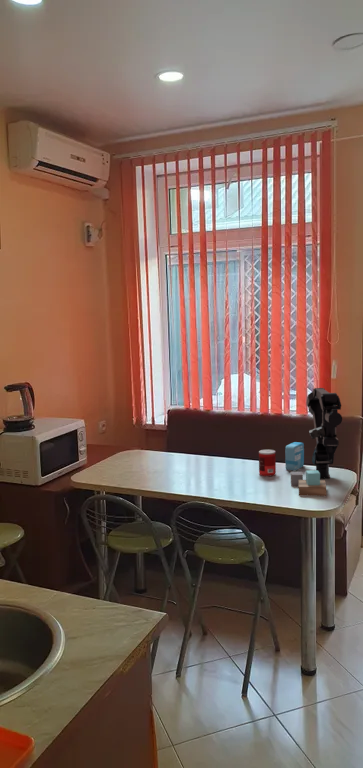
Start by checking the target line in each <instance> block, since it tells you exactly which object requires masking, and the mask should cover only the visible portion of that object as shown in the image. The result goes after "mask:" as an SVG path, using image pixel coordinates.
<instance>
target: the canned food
mask: <svg viewBox="0 0 363 768" xmlns="http://www.w3.org/2000/svg"><path fill="white" fill-rule="evenodd" d="M276 458H277V457H276V450H274V449H261V450H259V451H258V472H259V473H258V474H259V476H262V477H273V476H275V475H276V472H277V469H276V468H277V467H276V466H277V465H276V464H277V462H276V461H277V460H276Z"/></svg>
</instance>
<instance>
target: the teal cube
mask: <svg viewBox="0 0 363 768" xmlns="http://www.w3.org/2000/svg"><path fill="white" fill-rule="evenodd" d="M305 480H306V483H307V485H320V480H321V478H320V473H319V471H318V470H316V469H313V470H310V469H309V470H305Z"/></svg>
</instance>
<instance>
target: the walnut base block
mask: <svg viewBox="0 0 363 768" xmlns="http://www.w3.org/2000/svg"><path fill="white" fill-rule="evenodd" d="M326 483H327V482H326V480H325V479H323V480H321V479H320V485H307V483H306V479H303V480H299V486H298V496H304V497H305V496H307V497H308V496H310V497H311V496H312V497H327V484H326Z"/></svg>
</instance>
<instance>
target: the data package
mask: <svg viewBox="0 0 363 768" xmlns="http://www.w3.org/2000/svg"><path fill="white" fill-rule="evenodd" d="M304 444H305V443H304V442H297V441H294V442H291V443H289V444H287V445H285V451H284V452H285V454H284V455H285V459H284V460H285V470H286V471H291V472H297V470H300V469H301V468H303V467H304V465H305V448H304V447H305V445H304Z"/></svg>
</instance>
